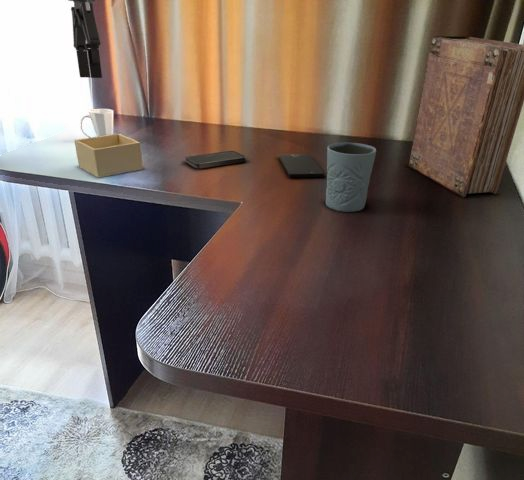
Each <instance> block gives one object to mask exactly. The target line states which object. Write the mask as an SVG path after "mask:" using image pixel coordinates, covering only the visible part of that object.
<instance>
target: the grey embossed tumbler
mask: <svg viewBox="0 0 524 480" xmlns="http://www.w3.org/2000/svg"><path fill="white" fill-rule="evenodd" d="M326 151H327V152H326V159H327V160H326V171H327V175H326V189H325V206H327V207H328V208H329V209H331V210H334V211H338V212H344V213H345V212H346V213H352V212H353V213H354V212H359V211H362V210H364V208H365V206H366V202H367V197H368V189H369V186H370V179H371V175H372V171H373V167H374V164H375V159H376V155H377V149H376V147H374V146H373V145H368V144H365V143H358V142H334V143H331V144H329V145H328V146H327V148H326Z"/></svg>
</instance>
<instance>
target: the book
mask: <svg viewBox="0 0 524 480" xmlns="http://www.w3.org/2000/svg"><path fill="white" fill-rule="evenodd" d="M422 84H423V85H422V91H421V95H420V102H419V106H418V112H417V118H416V124H415V128H414V135H413V139H412V145H411V151H410V156H409V162H408V167H409V168H411V169H413V170H414V171H417V172H418V173H420V174H422V175H423V176H425V177H426V178H428V179H430V180H432V181H434V182H435V183H437V184H439V185H440V186H442V187H444V188H446V189H448V190H449V191H451V192H453V193H455V194H457V195H458V196H460V197H461V198H465V197H466V196H467V195H473V194H482V193H490V194H493V195H496V194H497V193H498V191H499V186H500V184H501V181H502V176H503V173H504V170H505V166H506V163H507V159H508V157H509V153H510V151H511V146H512V143H513V139H514V136H515V133H516V129H517V126H518V123H519V120H520V116H521V112H522V110H523V106H524V44H523V43H522V44H521V43H514V42H507V41H501V40H494V39H486V38H480V37H472V36H465V35H464V36H456V35H455V36H441V35H438V36H435V35H434V36H432V38H431V41H430V46H429V52H428V56H427V63H426V69H425V73H424V80H423V83H422Z"/></svg>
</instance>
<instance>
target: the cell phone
mask: <svg viewBox="0 0 524 480" xmlns="http://www.w3.org/2000/svg"><path fill="white" fill-rule="evenodd" d="M278 159H279V161H280V163H281V164H282V166H283V168H284V170H285V172H286V173H287V175H288V177H289V178H292V179H293V178H324V177H325V173H324V171H323V169H322V168H321V167H320V165H319V164H318V162H316V161H315V159H314V158H313V156H312V155H311V153H310V154H309V153H298V154H297V153H295V154H293V153H291V154H278Z"/></svg>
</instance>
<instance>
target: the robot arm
mask: <svg viewBox="0 0 524 480" xmlns="http://www.w3.org/2000/svg"><path fill="white" fill-rule="evenodd" d="M69 1H70V2H73V6H71V8H70V10H71V20H72V37H73V48H74V49H75V51H76V60H77V66H78V74H79V78H91V79H102V78H103V74H102V66H101V57H100V46H101V39H100V36H99V35H100V34H99V30H98V27H97V21H96V17H95V14H94V4H93V2H96V0H68V2H69Z"/></svg>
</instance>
